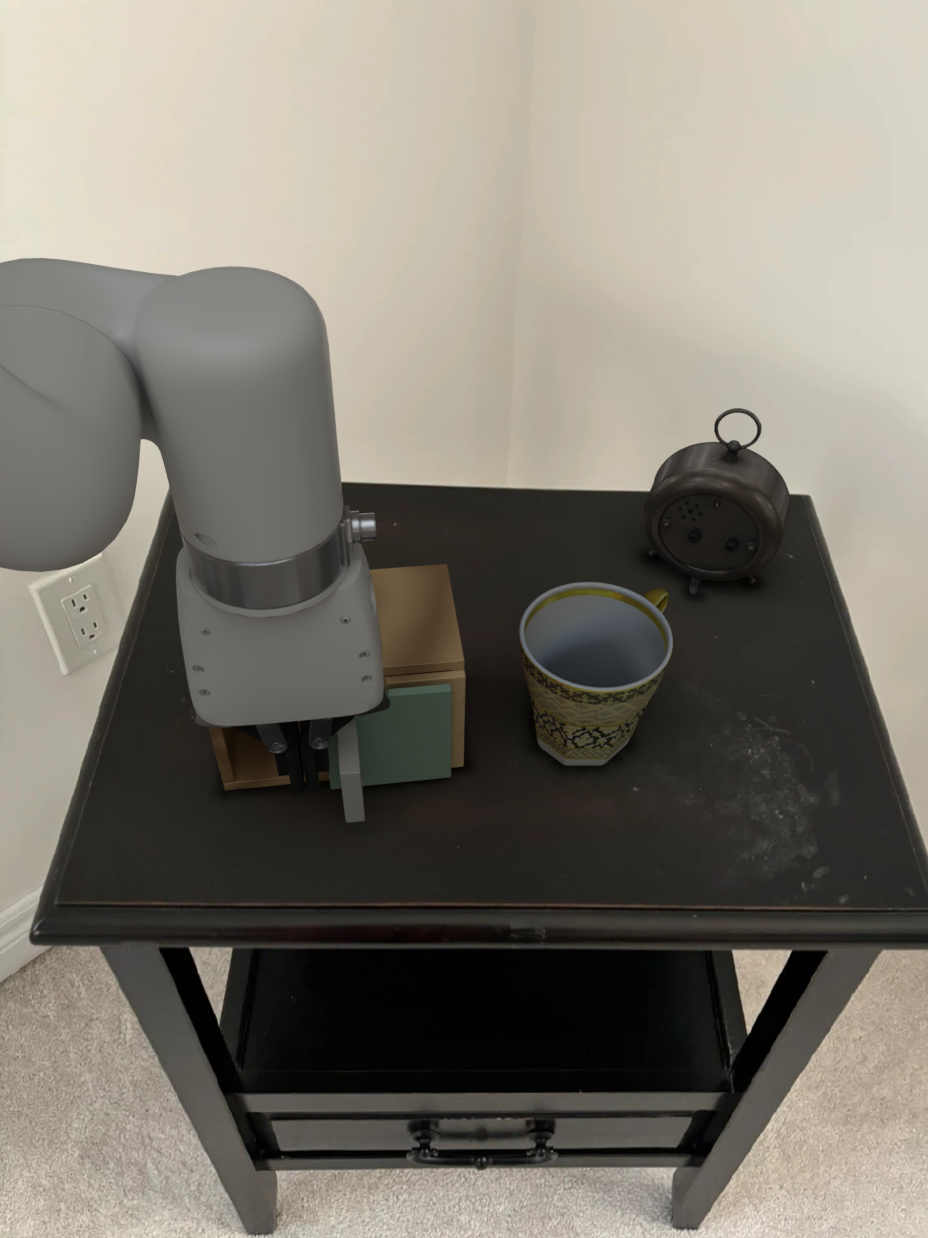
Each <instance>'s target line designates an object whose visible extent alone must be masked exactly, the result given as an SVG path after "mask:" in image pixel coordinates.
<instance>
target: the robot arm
mask: <svg viewBox="0 0 928 1238" xmlns="http://www.w3.org/2000/svg"><path fill="white" fill-rule="evenodd" d="M333 388H334V387H333V378H332V366H331V354H330V343H329V336H328V331H327V324H326V321H325V317H324V315H323V313H322V311H321V309H320V306H319V305H318V303H317V301H316V299H315V298H313V296H312V295H311V294H310V293H309V292H308V291H307V290H306V289H305V288H304V287H303V286H302V285H300V284H299V283H297V282H296V281H294V280H293V279H290V278H288V276H287V277H286V276H284V275H282V274H280V273H278V272H275V271H271V270H268V269H263V268H257V267H251V266H250V267H249V266H236V265H235V266H231V265H230V266H215V267H208V268H202V269H198V270H194V271H190V272H186V273H183V274H180V275H175V274H164V273H156V272H147V271H140V270H135V269H127V268H121V267H114V266H106V265H101V264H95V263H89V262H83V261H75V260H68V259H59V258H48V257H47V258H46V257H27V258H25V257H24V258H23V257H22V258H17V259H11V260H7V261H2V262H0V568H1V569H6V570H11V571H18V572H30V573H31V572H32V573H45V572H52V571H53V572H56V571H61V570H66V569H69V568H72V567H75V566H78V565H79V566H80V565H81V564H84V563H86V562H87V561H90V560H91V559H93V558H94V557H96V556H98V555H100V554H101V553H102V552H103V551H104V550H105V549H107V548H108V547H109V546H110V545H111V544H112V543H113V542H114V541H115V540H116V538H117V537H118V535H119V534H120V532H121V531H122V530H123V528H124V526H125V525H126V523H127V521H128V519H129V518H130V517H129V516H130V514H131V511H132V509H133V506H134V502H135V496H136V491H137V484H138V478H139V477H138V476H139V468H140V467H139V466H140V458H141V444H142V443H141V442H142V440H146V441H149V442H151V443H152V444H154V445H155V446H156V447H157V448H158V450H159V453H160V457H161V459H162V464H163V467H164V469H165V474H166V478H167V482H168V486H169V490H170V494H171V498H172V502H173V507H174V511H175V515H176V519H177V523H178V528H179V532H180V537H181V541H182V545H183V547H182V548H181V549H180V550H179V552H178V554H177V557H176V564H175V565H176V566H175V587H176V601H177V602H176V603H177V605H176V606H177V618H178V626H179V635H180V644H181V650H182V655H183V661H184V667H185V674H186V680H187V685H188V686H187V687H188V691H189V694H190V699H191V702H192V706H193V708H194V711H195V713H194V714H195V715H194V722H195V724H196V725H198V726H200V727H203V728H204V727H205V728H208V727H218V728H231V726H233V727H236V729H237V730H239V731H241V732H243V733H245V734H248V735H250V736H252V737H254V738H256V739H258V740H261V741H263V743H264V745H265V747H266V749H267V751H269V752H270V753H274V756H275V761H276V766H277V771H278V775H279V776H286V775H289V778H290V784H289V785H290V788H291V793H292V796H298V795H302V793H304V792H305V791H307V792H310V794H319V793H320V781H319V772H327V771H329V754H328V746H329V745H330V739H331V736H332V735H334V734H335V733H336V732H337V731H339V730H340V729H341V728H343V727H344V726H345V725H346V724H348V723H349V722H350V721H351V720H352V719H353V718H354V716H356V715H359V717H360V716H363V715H367V714H371V713H375V712H379V711H383V710H386V709H388V708H389V707H390V696H389V688H388V685H387V683H386V681H385V678H384V673H383V660H382V644H381V635H380V627H379V620H378V612H377V605H376V598H375V592H374V586H373V581H372V577H371V573H370V570H371V569H370V566H369V563H368V559H367V556H366V553H365V551H364V548H363V546H362V543H363V542H374V541H375V542H376V541H377V540H378V538H377V536H378V535H377V524H376V515H375V512H365V513H360V511H359V510H351V507H350V504H346V505H345V504H344V496H343V495H344V494H343V486H342V475H341V464H340V463H341V462H340V455H339V446H338V435H337V433H338V431H337V422H336V412H335V410H336V409H335V398H334V389H333ZM298 721H300V731H299V725H298ZM304 775H305V781H306V782H304ZM305 787H306V790H305Z"/></svg>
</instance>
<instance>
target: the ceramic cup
mask: <svg viewBox="0 0 928 1238" xmlns="http://www.w3.org/2000/svg"><path fill="white" fill-rule="evenodd" d="M668 603H669V593H668V591H667V590H666V589H664V588H663V587H660V586H659V587H654V588H651V589H649V590H648V591H646V592H645V593H644V594H643V595H640V594H639V593H638V592H635V591H633V590H631V589H629V588H625V587H623V586H619V585H616V584H611V583H607V582H600V581H599V582H598V581H578V582H570V583H565V584H561V585H557V586H555V587H553V588H550V589H548V590H546V591H544V592H542V593H541V594H539V595H538V596H537V597H536V598H534V599H533V600H532V601H531V602H530V603H529V604H528V605H527V606H526V608H525V609H524V611H523V613H522V615H521V618H520V620H519V624H518V642H519V650H520V651H519V652H520V658H521V663H522V668H523V669H522V670H523V673H524V678H525V681H526V686H527V688H528V692H529V695H530V702H531V708H532V715H533V721H534V727H535V728H534V729H535V736H536V741H537V742H536V743H537V744H538V746H539V748H541V749H542V750H543V751H545V752H546V753H547V754H549V755H550V756H551V757H553V758H554V759H555V760H557V762H559V763H561V764H562V765H564V766H567V767H568V766H569V767H571V766H573V767H574V766H577V767H578V766H580V767H581V766H582V767H583V766H584V767H585V766H587V767H588V766H593V767H596V766H604V765H605V764H607V763H608V762H609V761H610V760H611V759H612V758H614V757H615V756H616V754H618V753H619V752H620V751H621V750H622V749H624V748H625V747H626V746H627V745H628V743H629V742H630V739H631V738H632V736H633V734H634V732H635V730H636V728H637V726H638V724H639V723H640V720H641V718H642V716H643V714H644V712H645V710H646V708H647V706H648V704H649V701H650V700H651V698H652V697H653V696H654V694H655V693H656V691H657V689H658V686H659V685H660V682H661V680H662V679H663V677H664V675H665V672H666V670H667V668H668V665H669V663H670V660H671V658H672V654H673V649H674V638H673V637H674V636H673V632H672V628H671V626H670V624H669V622H668V620H667V618H666V617H665V615H664V612H665V610H666V608H667V605H668Z"/></svg>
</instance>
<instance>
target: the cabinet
mask: <svg viewBox="0 0 928 1238" xmlns="http://www.w3.org/2000/svg"><path fill="white" fill-rule="evenodd" d="M369 570H370V573H371V577H372V581H373V586H374V592H375V598H376V605H377V612H378V620H379V627H380V635H381V644H382V660H383V673H384V678H385V681H386V683H387V685H388V688H389V689H396V688H408V687H419V686H430V685H442V684H450V685H451V690H452V704H451V769H452V768H453V769H454V768H463V767H464V765H465V727H466V726H465V721H466V680H467V677H466V670H465V656H464V649H463V645H462V639H461V633H460V628H459V623H458V618H457V617H458V616H457V611H456V606H455V600H454V594H453V589H452V584H451V578H450V573H449V567H448V564H447V563H444V564H429V565H416V566H415V565H414V566H402V567H401V566H399V567H389V568H388V567H387V568H373V569H369ZM298 725H299V731H300V721H298ZM207 728H208V732H209V736H210V739H211V743H212V747H213V751H214V755H215V759H216V763H217V766H218V770H219V774H220V777H221V780H222V785H223V788H224V791H233V790H243V789H254V788H264V787H273V786H283V785H284V786H285V785H291V784H290V778H289V775H286V776H279V775H278V771H277V766H276V761H275V756H274V753H270V752H269V751H267V749H266V747H265V745H264V743H263V741H261V740H258V739H256V738H254V737H252V736H250V735H248V734H245V733H243V732H241V731H239V730H237V729H236V727H233V726H231V728H218V727H207ZM323 781H330V780H329V773H328V771H327V772H319V782H323ZM304 783H306V781H305V775H304Z"/></svg>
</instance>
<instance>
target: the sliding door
mask: <svg viewBox="0 0 928 1238" xmlns="http://www.w3.org/2000/svg"><path fill="white" fill-rule="evenodd" d="M389 696H390V707H389V708H388V709H386V710H383V711H379V712H375V713H371V714H367V715H363V716H360V717H359V715H356V716H354V718H353V719H352V720H351V721H350V722H349V723H348V724H346V725H345V726H344V727H343V728H341V729H340V730H339V731H337V732H336V733H335V734H334V735H332V736H331V739H330V745H329V746H328V754H329V771H328V773H329V780H328V781H329V786H330V787H329V788H330V790H339V789H341V796H342V803H343V811H344V812H343V813H344V819H345V823H346V824H347V823H349V824H350V823H358V822H359V823H360V822H365V821H366V813H365V801H364V789H363V787H367V786H376V785H377V786H378V785H388V784H398V783H407V782H409V783H410V782H416V781H417V782H418V781H426V780H427V781H428V780H436V779H437V780H439V779H446V778H447V779H448V778H451V777H452V768H451V704H452V690H451V685H450V684H442V685H430V686H419V687H408V688H396V689H389Z"/></svg>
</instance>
